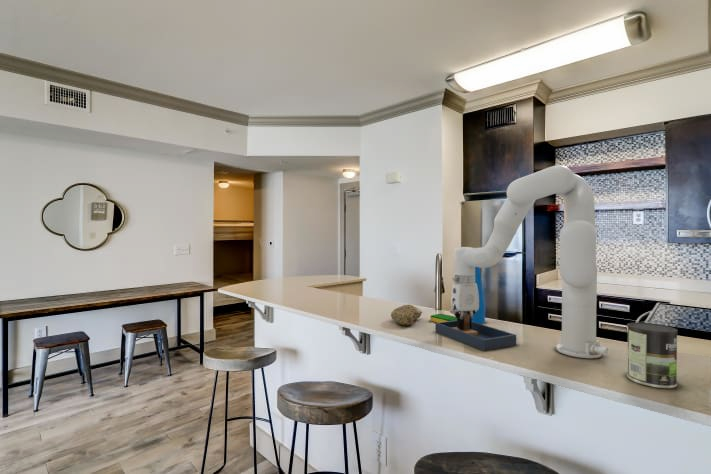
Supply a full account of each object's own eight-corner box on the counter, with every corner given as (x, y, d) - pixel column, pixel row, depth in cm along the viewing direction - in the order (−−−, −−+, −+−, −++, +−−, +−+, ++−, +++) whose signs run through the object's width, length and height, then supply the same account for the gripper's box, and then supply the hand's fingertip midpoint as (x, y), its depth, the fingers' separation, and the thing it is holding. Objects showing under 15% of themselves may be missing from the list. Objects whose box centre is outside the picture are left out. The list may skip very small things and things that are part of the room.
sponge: (402, 319, 173) (378, 317, 157) (406, 302, 173) (383, 299, 157) (427, 328, 165) (405, 328, 149) (431, 311, 165) (410, 309, 149)
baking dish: (516, 345, 129) (516, 334, 129) (484, 351, 122) (484, 340, 122) (464, 328, 152) (464, 319, 152) (435, 332, 145) (435, 322, 145)
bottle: (484, 324, 158) (485, 252, 157) (466, 323, 160) (467, 251, 160) (485, 320, 164) (485, 251, 164) (467, 319, 167) (468, 251, 167)
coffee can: (682, 382, 97) (683, 327, 96) (669, 392, 91) (670, 334, 90) (634, 370, 105) (635, 320, 105) (620, 378, 99) (620, 325, 99)
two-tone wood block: (477, 335, 138) (478, 315, 138) (467, 337, 136) (467, 316, 136) (461, 330, 146) (461, 310, 146) (451, 331, 144) (451, 312, 144)
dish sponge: (456, 327, 153) (456, 321, 153) (429, 320, 164) (429, 315, 164) (466, 324, 158) (466, 318, 158) (440, 318, 168) (440, 313, 168)
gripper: (454, 282, 134) (453, 333, 134) (488, 279, 141) (488, 328, 141) (440, 279, 141) (440, 328, 141) (474, 277, 148) (473, 324, 148)
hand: (464, 328), depth 141 cm, fingers closed on two-tone wood block, 2 cm apart
